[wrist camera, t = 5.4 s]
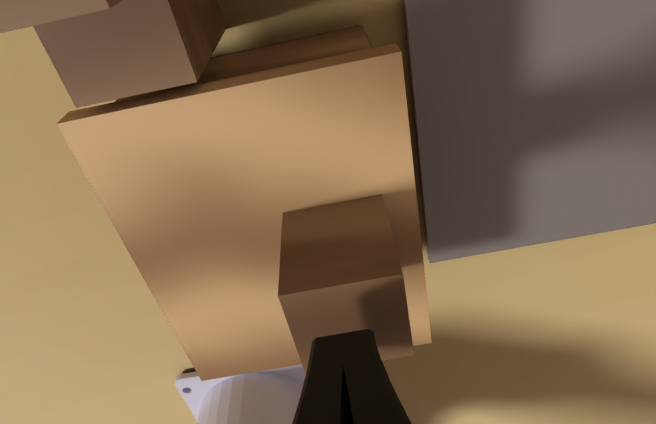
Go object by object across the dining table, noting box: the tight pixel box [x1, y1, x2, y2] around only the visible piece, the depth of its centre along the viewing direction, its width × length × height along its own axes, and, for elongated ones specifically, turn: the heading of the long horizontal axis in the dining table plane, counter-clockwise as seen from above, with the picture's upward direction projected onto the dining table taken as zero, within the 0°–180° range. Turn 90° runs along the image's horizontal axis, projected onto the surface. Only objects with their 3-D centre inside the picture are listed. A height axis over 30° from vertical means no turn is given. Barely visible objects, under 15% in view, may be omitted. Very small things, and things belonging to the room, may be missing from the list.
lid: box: [57, 43, 432, 381], centre depth 14 cm, size 11×9×4 cm
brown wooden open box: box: [33, 0, 371, 108], centre depth 16 cm, size 14×8×5 cm, turn 11°
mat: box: [403, 0, 656, 263], centre depth 18 cm, size 14×11×1 cm
